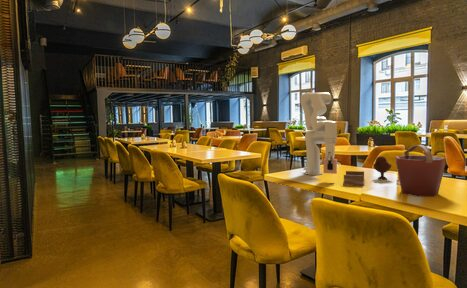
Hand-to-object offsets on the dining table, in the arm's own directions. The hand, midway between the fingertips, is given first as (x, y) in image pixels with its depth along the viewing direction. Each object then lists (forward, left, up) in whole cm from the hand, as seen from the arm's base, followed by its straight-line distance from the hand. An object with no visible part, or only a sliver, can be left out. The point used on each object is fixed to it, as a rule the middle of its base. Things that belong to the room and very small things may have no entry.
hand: (330, 169), depth 206 cm
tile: (0, 0, -3) cm, 3 cm away
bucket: (+52, +6, -8) cm, 53 cm away
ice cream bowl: (+18, +31, -8) cm, 36 cm away
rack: (+13, +7, -8) cm, 16 cm away
